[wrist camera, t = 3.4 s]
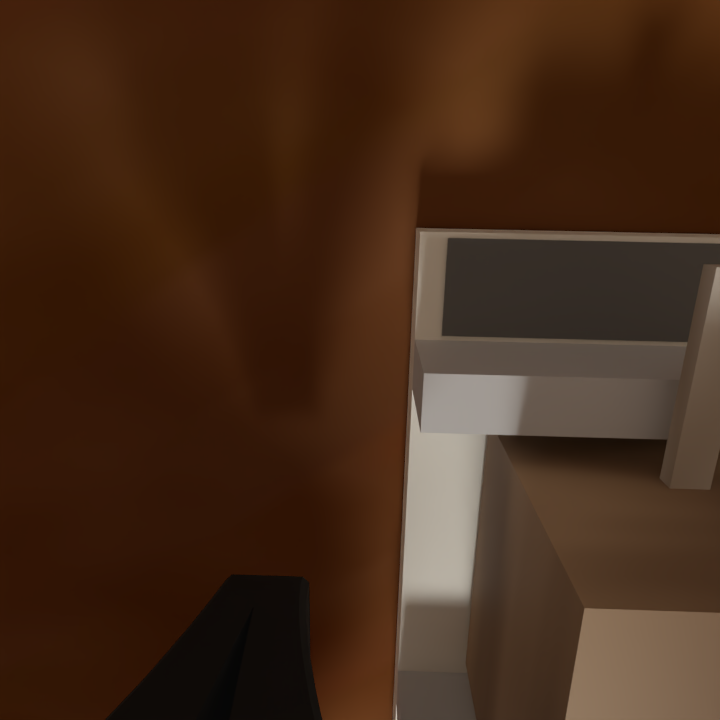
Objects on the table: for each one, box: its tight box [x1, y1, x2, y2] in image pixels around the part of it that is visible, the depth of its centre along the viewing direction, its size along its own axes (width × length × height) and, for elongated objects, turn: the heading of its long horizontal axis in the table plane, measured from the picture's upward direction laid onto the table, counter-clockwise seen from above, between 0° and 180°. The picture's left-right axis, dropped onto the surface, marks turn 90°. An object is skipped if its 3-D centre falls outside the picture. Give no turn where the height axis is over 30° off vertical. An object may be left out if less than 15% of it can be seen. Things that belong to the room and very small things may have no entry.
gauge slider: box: [466, 264, 720, 720], centre depth 8 cm, size 5×9×5 cm, turn 179°
